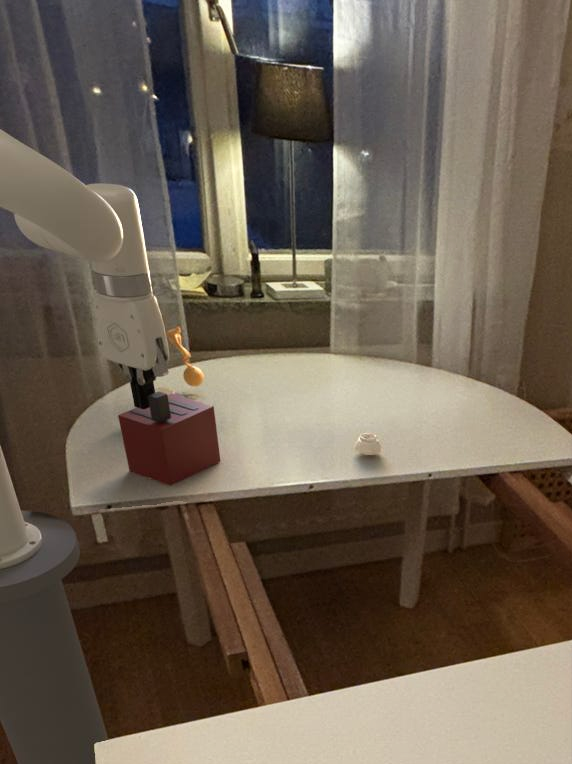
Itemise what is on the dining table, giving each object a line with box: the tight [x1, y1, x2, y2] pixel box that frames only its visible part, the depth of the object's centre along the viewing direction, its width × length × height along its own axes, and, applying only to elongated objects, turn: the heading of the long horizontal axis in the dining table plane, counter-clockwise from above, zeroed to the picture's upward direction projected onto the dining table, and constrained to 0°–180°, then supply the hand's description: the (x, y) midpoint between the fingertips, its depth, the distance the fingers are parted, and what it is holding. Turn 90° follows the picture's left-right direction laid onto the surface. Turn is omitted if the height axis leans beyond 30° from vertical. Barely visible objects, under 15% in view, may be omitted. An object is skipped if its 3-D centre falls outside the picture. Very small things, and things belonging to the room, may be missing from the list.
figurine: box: [166, 326, 205, 388], centre depth 156 cm, size 8×6×12 cm
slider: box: [148, 391, 171, 423], centre depth 121 cm, size 2×2×4 cm
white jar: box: [353, 432, 383, 456], centre depth 142 cm, size 5×3×5 cm
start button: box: [155, 387, 176, 395], centre depth 143 cm, size 4×4×2 cm
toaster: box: [117, 394, 221, 487], centre depth 128 cm, size 12×9×10 cm
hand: (146, 405), depth 122 cm, fingers closed
